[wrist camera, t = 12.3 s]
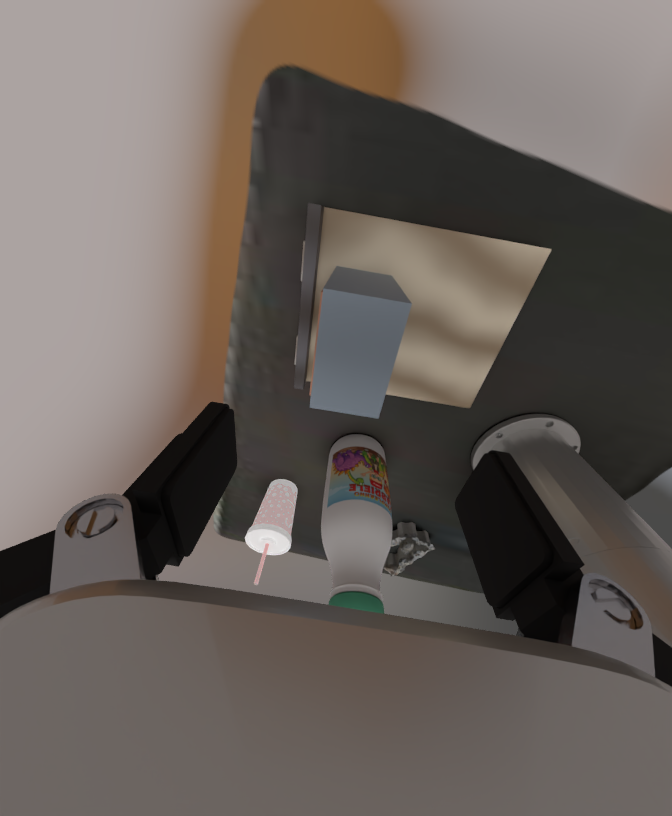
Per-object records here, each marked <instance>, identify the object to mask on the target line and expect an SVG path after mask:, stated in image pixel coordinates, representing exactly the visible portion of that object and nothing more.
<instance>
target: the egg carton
mask: <svg viewBox="0 0 672 816" xmlns="http://www.w3.org/2000/svg"><path fill="white" fill-rule="evenodd" d="M397 527H398V529H397V530H395V531H392V541H391V546H395V545H399V544H400V548H398V550H397V551H398V553H396V554H393V553H388V556H387V558H386V561H385V564H384V567H383V568H384V569H385V570H386V571H388V572H389V573H390V574H392V575H391V576H394V575H397V574H398V573H401V572H402V571H403V570H405V566H406V565H409V564H412V563H413V561H415V560H416V559H418V558H421V557H422V556H424V555H425V554H426V553H427V552H429V551H431V550H434V549H435V548H434V547H433V545H432V544H430V540H429V535H428V532H426V531H425V530H424V531H416V526H415V524H414V523H413V522H410V523H404V522H400V523H398V524H397Z"/></svg>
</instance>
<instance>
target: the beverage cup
mask: <svg viewBox="0 0 672 816" xmlns="http://www.w3.org/2000/svg"><path fill="white" fill-rule="evenodd" d="M296 499H297V487H296V485H295V484H294V483H292V482H291V481H288V480H285V479H278V480H274V481H273V482H271V484H270V486H269V488H268V490H267V492H266V495H265V497H264V499H263V502H262V504H261V506H260V509H259V511H258V513H257V516H256V518H255V520H254V522H253V525H252V527H250V528H249V530H248V532H247V534H246V536H245V540H246V543H247V545H248V546H249V547H250V548H252V549H253V550H255V551H257V552H259V553H262V554H263V555H262V558H261V561H260V565H259V568H258V571H257V575H256V578H255V581H254V584H255V585H258V582H259V578H260V575H261V572H262V568H263V564H264V561H265V558H266V555H280V554H283V553H285V552H288V550H289V549H290V547H291V530H292V524H293V518H294V511H295V505H296Z"/></svg>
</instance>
